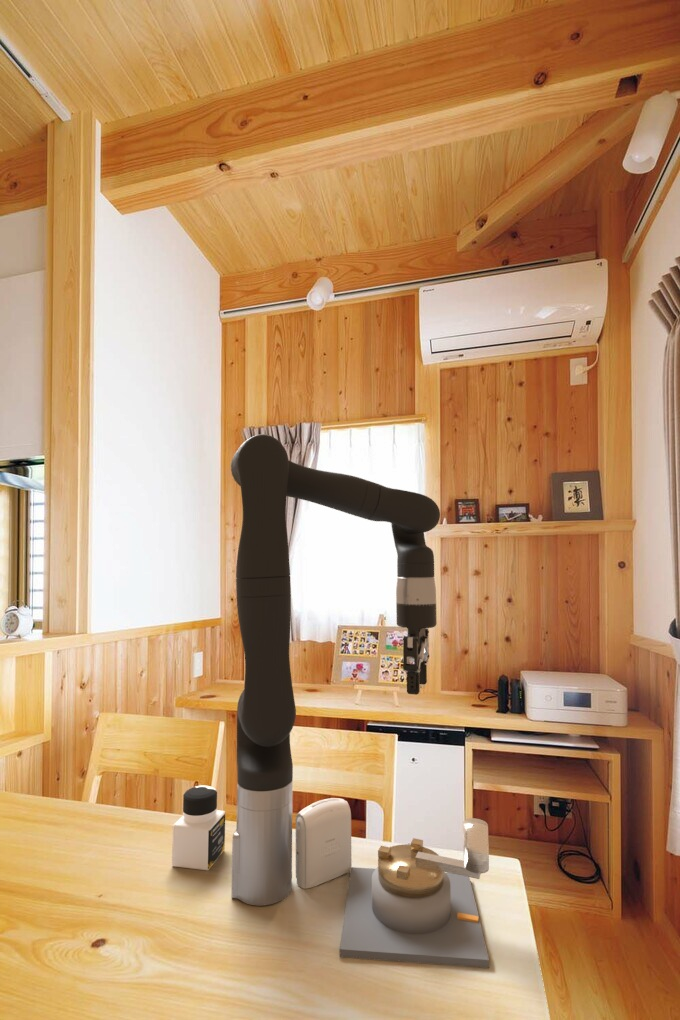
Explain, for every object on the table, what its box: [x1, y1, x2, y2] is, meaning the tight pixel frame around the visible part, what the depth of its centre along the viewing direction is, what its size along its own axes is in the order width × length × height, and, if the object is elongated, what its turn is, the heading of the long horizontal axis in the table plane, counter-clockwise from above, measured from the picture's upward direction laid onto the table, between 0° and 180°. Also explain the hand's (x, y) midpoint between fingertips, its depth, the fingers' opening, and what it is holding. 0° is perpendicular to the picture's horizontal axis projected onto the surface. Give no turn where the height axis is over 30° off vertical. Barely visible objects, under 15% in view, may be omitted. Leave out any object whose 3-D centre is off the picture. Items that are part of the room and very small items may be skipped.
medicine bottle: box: [171, 784, 226, 871], centre depth 99 cm, size 7×7×12 cm
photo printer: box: [295, 797, 352, 890], centre depth 93 cm, size 10×4×12 cm, turn 124°
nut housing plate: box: [339, 866, 490, 969], centre depth 83 cm, size 20×20×5 cm
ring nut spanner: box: [377, 817, 490, 898], centre depth 82 cm, size 17×10×10 cm, turn 68°
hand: (417, 688), depth 101 cm, fingers open, 8 cm apart
